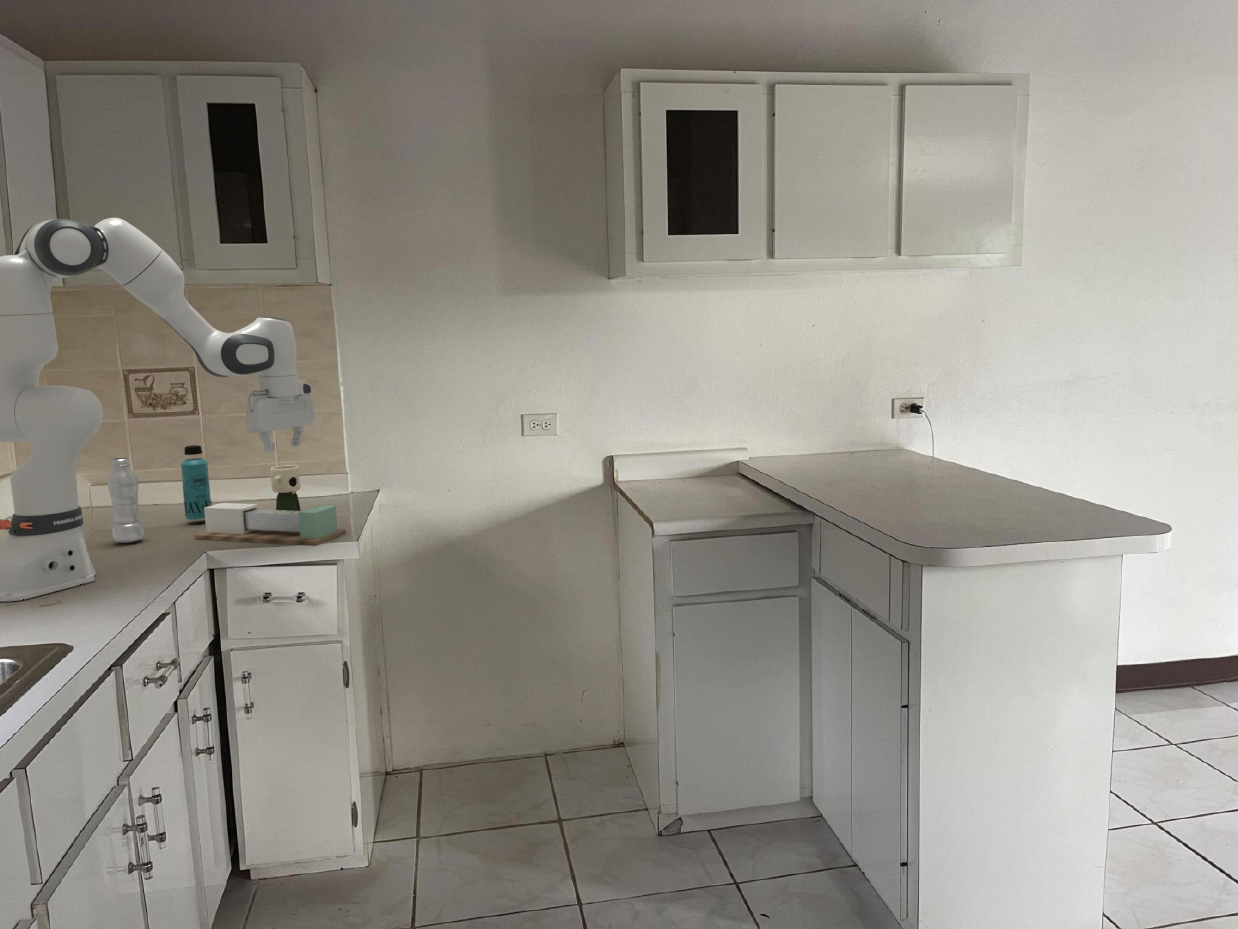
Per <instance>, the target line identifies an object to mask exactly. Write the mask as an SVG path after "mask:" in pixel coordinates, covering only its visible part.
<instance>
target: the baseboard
mask: <svg viewBox="0 0 1238 929" xmlns="http://www.w3.org/2000/svg"><path fill="white" fill-rule="evenodd" d="M346 534H347V529H342V528H341V529H338V528H337V532H334V533H332V534H329V535H327V536H324V537H321V538H319V539H305V538H300V532H293V531H273V530H255V531H252V532H249V533H246V534H229V533H209V532H206V531H203V532H200V533H196V534H194V535H193V536H194V540H203V541H204V540H207V541H222V542H240V543H241V542H242V543H243V542H244V543H257V544H258V543H261V544H262V543H263V544H275V545H276V544H279V545H280V544H281V545H282V544H283V545H295V546H296V545H297V546H299V545H300V546H315V547H317V546H319V545H321V544H324V543H326V542H329V541H331V540H334V539H336V538H339V537H341V536H345V535H346Z"/></svg>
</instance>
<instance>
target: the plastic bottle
mask: <svg viewBox="0 0 1238 929" xmlns="http://www.w3.org/2000/svg"><path fill="white" fill-rule="evenodd" d="M130 466H131V462H130V457H127V456H125V457H114V458H111V467H112V471H110V472H111V473H110V474H109V475H108V478H107V483H106V484H107V488H108V492H109V495H110V499H111V504H112V507H111V508H112V530H111V532H112V533H111V534H112V538H113V540H114V541H115V543H117V544H132V543H135V542H138V541H141V540H142V539H143V537H144V530H145V529H144V525H143V523H142V521H141V515H140V510H139V496H138V495H139V477H138V476H137V474H136V473H135V471H133V470H132V469H131V467H130Z"/></svg>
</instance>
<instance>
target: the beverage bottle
mask: <svg viewBox="0 0 1238 929" xmlns="http://www.w3.org/2000/svg"><path fill="white" fill-rule="evenodd" d="M202 449H203V448H202V446H201V445H197V444H195V445H194V444H193V445H186V446H185V447H184V451H183V452H184V455H185V456H193V455H196V456H197V455H201V454H203V450H202ZM208 464H209V463H208V461H207V460H205V459H204V458H203V457H195V458H193V457H191V458H186V459H184V460H183V461H182V462H181V463H180V466H181V467H180V468H181V480H182V496H183V504H184V505H183V506H184V516H185V519H186V520H190V521H191V520H194V521H195V520H205V512H204V508H205V507H209V506H212V498H211V489H210V487H211V486H210V481H211V480H210V478H209V468H208Z"/></svg>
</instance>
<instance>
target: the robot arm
mask: <svg viewBox="0 0 1238 929" xmlns="http://www.w3.org/2000/svg"><path fill="white" fill-rule="evenodd" d="M95 268H98V269H99V270H102V271H103V272H104V273H106V274H108V275H110V277H111V278H112V279H114V280H115V281H116V282H117V283H118V284H119V285H120V286H121V287H122V288H124V289H125V291H127V292H128V293H129V294H130V295H132V296H133V297H134V298H136V299H137V300H138V301H140V302H141V303H142V304H144V305H145V306H146V307H148V308H149V309H150V310H152V311H153V312H154V313H156V315H157V316H159V317H160V318H161V319H162V320H163V321H164V322H165V323H166V324H167V325H168V327H170V328H172V329H173V331H174V332H175V333H176V334H178V336H180V337H181V338H182V340H184V341H185V342H186V343H187V344H188V345H189V346H190V348H191V349H192V351H193V353H194V355H195V356H196V358H197V359H196V360H197V361H198V363H199V364H200V366H201V367H202V369H204V371H205V372H206V373H208V374H209V375H211V376H214V377H217V378H229V377H243V376H244V377H245V376H249V375H251V374H255V373H256V376H257V388H258V389H257V390H253V391H252V392H251V393H250V394H249V396H248V397H247V404H246V410H245V427H246V429H247V431H248V432H249V433H250V434H252V433H253V434H256V433H257V434H258V435H259V438H260V440H261V442H262V443H263V447H264V448H263V449H264V451H265V452H273V451H275V450H276V447H275V446H276V445H275V444H276V443H275V442H273V441H272V438H271V436H272V431H273V432H274V431H282V430H286V429H291V430H292V431H291V432H293V434H292V438H290V446H291V447H300V446H301V445H302V436H303V433H304V427H306V426H311V425H313V423H314V421H315V406H314V399H313V396H312V394H313V393H314V387H313V385H312V384H310V383H308V382H305V381H303V380H302V379H299V372H298V369H297V365H296V364H297V363H296V362H297V356H298V354H297V353H298V352H297V351H298V350H297V342H296V337H295V332H294V328H293V326H292V323H290V322H289V321H287V320H286V319H284V318H279V317H273V316H260V317H257V318H256V319H255V320H254V321H252V322H251V323H250V324H248V325H246V326H245V327H243V328H240V329H238V330H235V331H233V332H224V331H221V330H218V329H216V328H215V327H213V326H212V325H211V324H210V323H209V322H208V321H207V320H206V319H205V318H204V317H203V316H201V314H200V313H199V312H198V311H197V310H196V309H195V308H194V307H193V306H192V304H190V302H188V301H187V299H186V296H185V291H184V289H185V280H186V279H185V275H184V272H183V271H182V270H181V268H180V267H179V266H178V264H177V263H176V262H175V261H174V260H173V258H172V257H171V256H170V255H169V254H168V253H167V252H166V251H165V250H164V249H163V248H162V247H161V246H160V245H159V244H157V243H156V242H155V241H154V240H152V239H151V238H150V237H149V236H147V235H146V234H145V233H144V232H142V231H141V230H139V228H138V227H135V226H134V225H133V224H131V223H129V222H128V221H126V220H125V219H122V218H119V217H109V218H106V219H102V220H100V221H99V222H98V223H96V224H94V226H93V225H90V224H87V223H83V222H80V221H77V220H74V219H68V218H51V219H45V220H42V221H39V222H38V223H36V224H34V225H32V226H31V227H29V228H28V230H26V232H24V235H23V236H22V238H21V240H20V242H19V244H18V245H17V248H16V250H15V252H14V254H10V255H9V254H7V255H1V256H0V442H2V443H30V451H29V454H28V457H27V460H26V461H25V462H24V463H22V464H20V465H19V466H18V467H16V468H15V469H14V470H13V471H12V473H11V475H10V480H9V481H10V487H11V495H12V502H13V503H12V504H13V511H14V513H13V514H12V516H11V519H10V520H9V519H1V518H0V531H1V530H2V531H3V530H5V531H6V530H8V536H6V538H5V539H4V540H3V541H2V542H1V543H0V602H17V601H23V599H24V600H28V599H32V598H35V597H38V596H43V595H47V594H49V593H54V592H57V591H62V590H65V589H66V590H67V589H68V588H73V587H76V586H80V584H81V585H84V584H89V583H91V582H92V583H93V582H94V581H95V580H96V577H95V576H96V574H97V571H96V569H95V566H94V565H93V563H92V561H91V557H90V554H89V551H88V547H87V545H86V540H85V535H84V532H83V525H84V519H83V518H84V516H83V512H82V511H83V510H82V506H79V498H78V484H77V483H78V482H77V468H78V460H79V457H80V455H81V452H82V450H83V448H84V446H85V445H86V443H87V442H88V441H89V440H90V439H91V438H92V437H94V435H96V434H97V432H98V431H99V429H100V428H101V425H102V422H103V417H104V409H103V406H102V404H101V401H100V399H99V397H97V395H96V394H95V393H94V392H93V391H91V390H89V389H85V388H80V387H75V386H70V385H40V374H41V371H42V370H43V368H44V366H46V365H47V364H50V362H51V361H53V360H54V359H55V358H56V356H57V354H58V351H59V345H58V344H59V343H58V337H57V331H56V323H55V317H54V310H53V305H52V300H51V296H52V295H51V292H52V291H51V290H52V286H53V284H54V282H55V281H56V279H58V278H71V277H75V276H80V275H83V274H85V273H88V272H89V271H91V270H94V269H95ZM83 583H84V584H83Z"/></svg>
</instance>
